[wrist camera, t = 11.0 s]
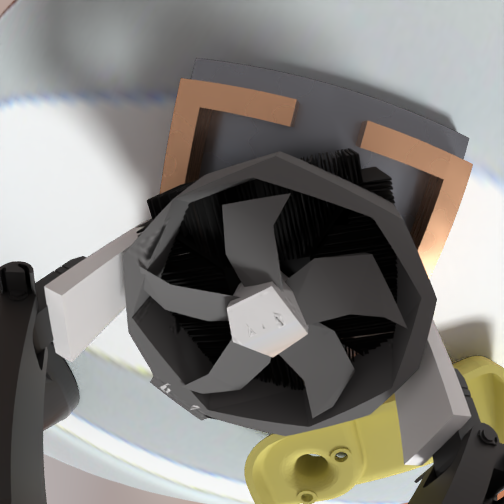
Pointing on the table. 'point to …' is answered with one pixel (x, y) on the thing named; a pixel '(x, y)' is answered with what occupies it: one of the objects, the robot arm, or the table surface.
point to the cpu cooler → (279, 293)
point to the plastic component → (356, 446)
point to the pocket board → (318, 139)
